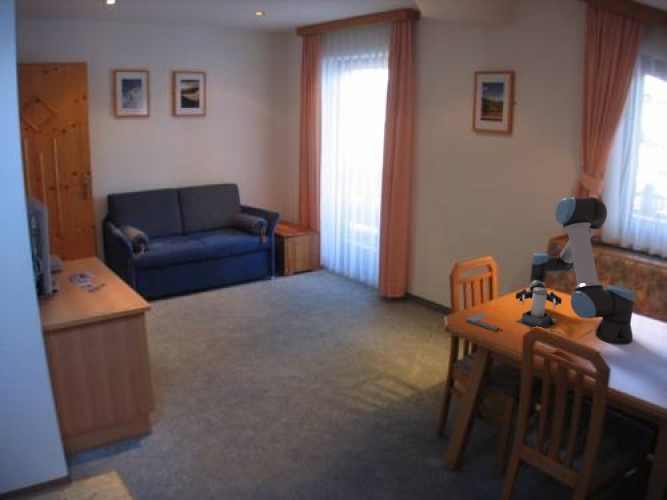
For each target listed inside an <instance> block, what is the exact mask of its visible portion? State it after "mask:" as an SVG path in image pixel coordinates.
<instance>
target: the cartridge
mask: <svg viewBox="0 0 667 500" xmlns="http://www.w3.org/2000/svg"><path fill="white" fill-rule="evenodd" d="M547 293H548V289H547V288H546V289H545V288H540V287H535V288H533V297H532V298H531V306H530V310H531V314H530V315H531V316H534V317H538V318H543V317H544V313H546V304H547V300H546V297H547Z"/></svg>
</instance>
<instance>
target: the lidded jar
mask: <svg viewBox="0 0 667 500" xmlns="http://www.w3.org/2000/svg"><path fill="white" fill-rule="evenodd" d="M545 330H548V331H551V332H554V333H556V334H558V335H561V336H564V338H566V337H565V334H564V333H563V332H562V331H561V330H557V329H553V328H547V329H545ZM538 344H539V345H544V344H542V343H538V342H537V345H538ZM539 345H538V346H539ZM544 347H546V348H547V349H551V350H556V349H554V348H552V347H550V346H547V345H544Z"/></svg>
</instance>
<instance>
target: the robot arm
mask: <svg viewBox="0 0 667 500" xmlns="http://www.w3.org/2000/svg"><path fill="white" fill-rule="evenodd" d="M554 214H555V219H556V220H555V221H556V222H557V223H558V224H559V225H560V224H561V225H562V227H563V230H564V231H565V232H567V234H568V239H569V240H568V241H567V243H566V244H565V246H564V247H563V248H562V250H561V252H560V253H559V254H558V255H557V256H550V255H549V254H548V253H545V252H534V253H533V255H532V259H531V271H530V275H529V281H528V285H529V290H527V289H526V288H523V290H521V291H519V292H516V293H515V299H516V300H519V302H521V305H522V306H524V305H525V300H528V299H532V297H533V288H535V287H540V288H545V289H547V288H546V281H547V274H548V273H556V272H557V273H561V272H562V273H563V272H564V273H565V272H566V273H567V272H573V271H574V274H575V279H576V284H577V285H576V286H575V287H574V292H572V294H571V298H570V305H571V309H572V310H573V312H574V313H575V315H577V317H579V318H581V319H593V318H601V320H600V322H599V323H598V325H597V328H595V337H597V338H598V339H599V340H601V341H604V342H606V343H610V344H617V345H626V344H630V343H632V342H633V336H634V334H633V329H632V325H631V323H632V317H633V316H632V315H633V311H634V304H635V303H636V301H635V297H636V295H635V292H634V291H633V290H632V289H630V288H627V287H625V286H620V285H615V284H608V285H607V286H606V287H605V289H604V285H603V284H602V283H600V281H599V280H598V274H597V268H596V264H595V259H594V253H593V247H592V241H591V238H592V237H593V235H594V234H595V232H596V231H597V230H600V229H601V228H602V226H603V225H604V224H605V222H606V220H607V216H608V210H607V206H606V204H605V203H604V202H603V201H602V200H601V199H599V198H597V197H593V196H587V197H584V196H583V197H580V196H579V197H578V196H577V197H576V196H575V197H574V196H571V197H564V198H562V199H561V200H559V202H558V203H557V206H556V209H555V213H554ZM562 300H563V299H562V298H561V297H560V296H558V295H556V294H555V293H554V292H553V291H551V292H550V293H548V292H547V297H546V301H548V302H549V303H552V307H553V309H554V310H555V309H556V306H558V305H561V304H562Z"/></svg>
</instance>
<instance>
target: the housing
mask: <svg viewBox="0 0 667 500" xmlns="http://www.w3.org/2000/svg"><path fill="white" fill-rule="evenodd" d="M530 314H531V309H530V310H528V311H525V312H523V313H522V316H521V318H519V319H517V320H516V321H514V322H515V323H517V324H521V325H524V326H527V327H530V328H533V327H536V326H538V327H542V328H544V329H550V328H552V327H553V326H556V325H557V324H558V322H557V318H554V317H553V314H551V313H547V312H545V313H544V317H543V318H538V317H534V316H531V315H530Z"/></svg>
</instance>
